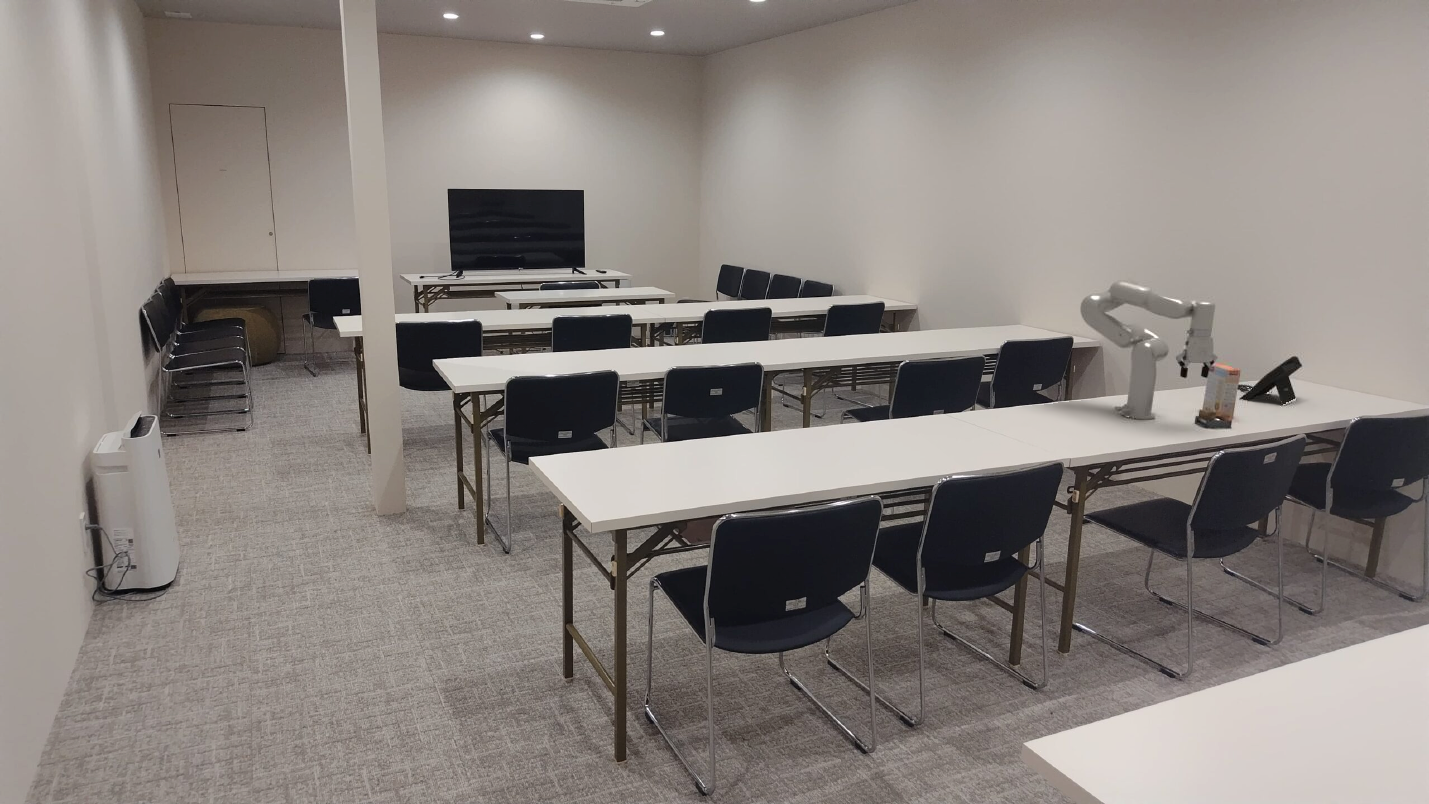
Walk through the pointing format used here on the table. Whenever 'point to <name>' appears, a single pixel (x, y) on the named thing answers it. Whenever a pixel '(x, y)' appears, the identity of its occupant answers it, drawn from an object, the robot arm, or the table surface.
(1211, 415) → the slab
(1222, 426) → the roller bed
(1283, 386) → the office phone
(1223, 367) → the cracker box
